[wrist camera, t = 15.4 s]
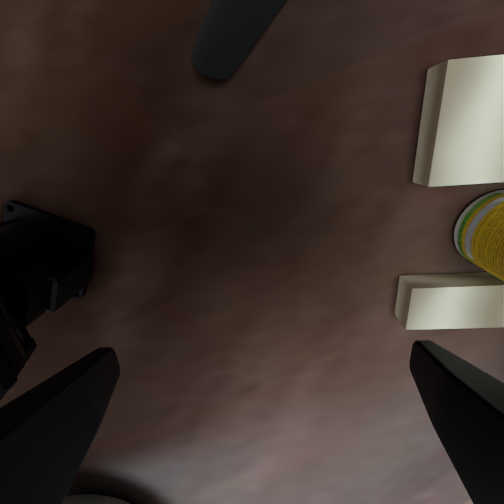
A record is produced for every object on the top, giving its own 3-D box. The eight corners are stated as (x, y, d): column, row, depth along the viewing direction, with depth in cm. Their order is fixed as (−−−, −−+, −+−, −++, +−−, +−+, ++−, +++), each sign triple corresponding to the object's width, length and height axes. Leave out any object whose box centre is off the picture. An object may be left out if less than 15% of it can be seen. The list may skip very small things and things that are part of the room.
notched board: (394, 314, 23) (405, 329, 21) (427, 68, 16) (448, 60, 14) (540, 309, 22) (565, 325, 20) (635, 48, 15) (685, 36, 14)
